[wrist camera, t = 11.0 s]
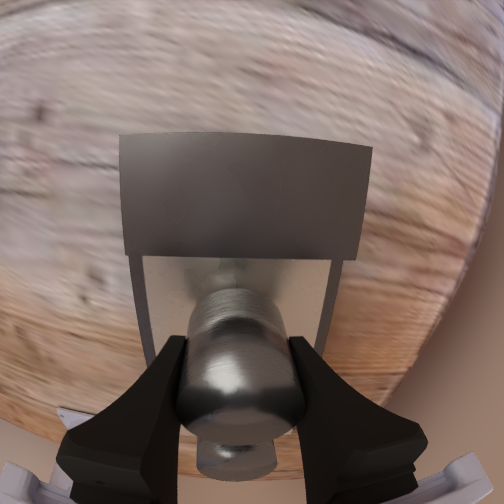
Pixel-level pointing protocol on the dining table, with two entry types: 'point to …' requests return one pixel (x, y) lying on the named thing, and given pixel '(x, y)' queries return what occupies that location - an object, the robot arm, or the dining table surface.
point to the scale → (239, 225)
